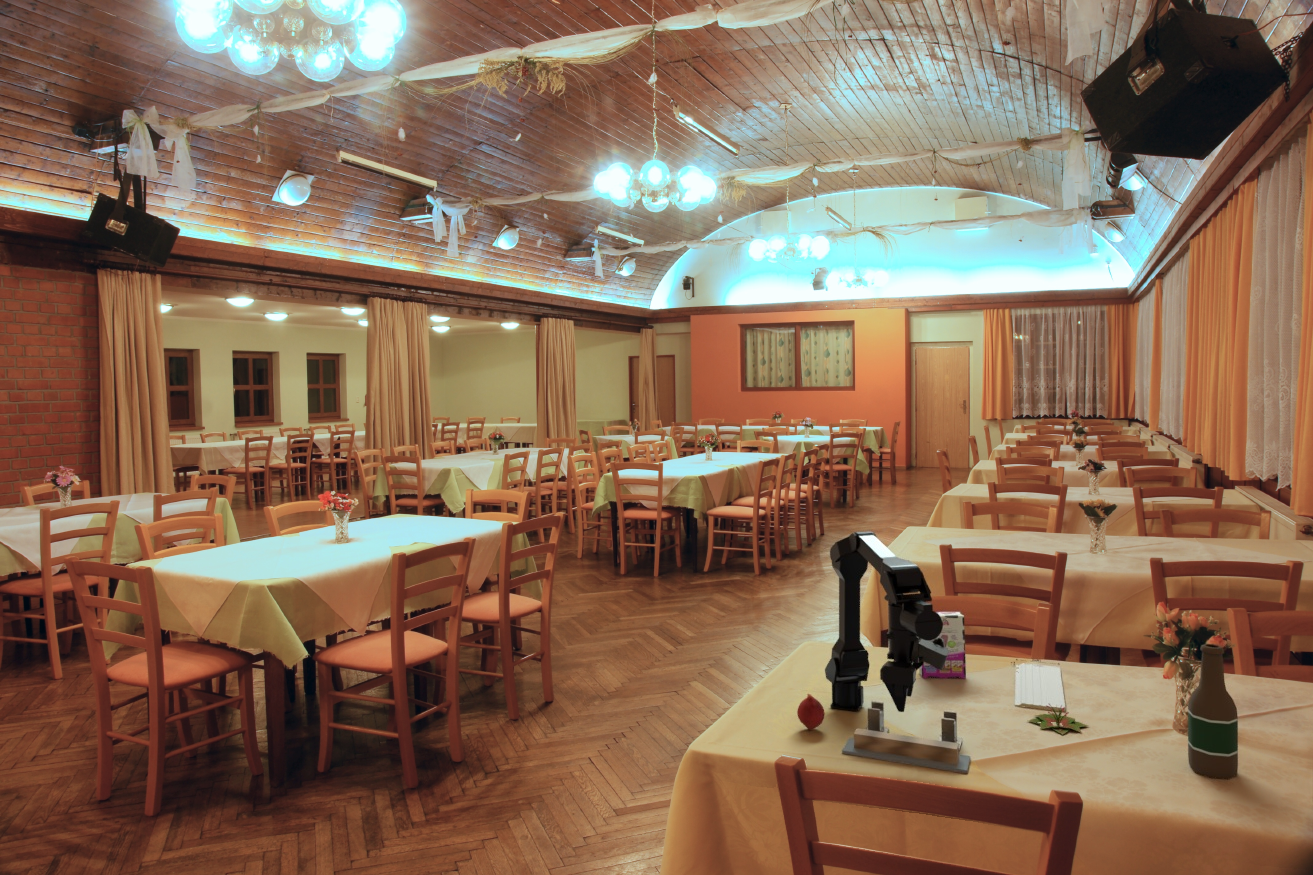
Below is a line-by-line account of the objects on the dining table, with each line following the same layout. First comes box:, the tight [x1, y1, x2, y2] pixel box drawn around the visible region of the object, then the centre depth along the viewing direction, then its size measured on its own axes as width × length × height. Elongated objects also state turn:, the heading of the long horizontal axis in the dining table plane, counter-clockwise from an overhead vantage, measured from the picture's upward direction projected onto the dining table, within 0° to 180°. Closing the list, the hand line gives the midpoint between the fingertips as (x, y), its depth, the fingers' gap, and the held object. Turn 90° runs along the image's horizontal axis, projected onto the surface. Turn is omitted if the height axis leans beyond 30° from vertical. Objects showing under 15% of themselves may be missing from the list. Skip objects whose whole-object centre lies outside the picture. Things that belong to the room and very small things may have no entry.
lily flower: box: [1028, 703, 1088, 735], centre depth 176 cm, size 12×12×5 cm
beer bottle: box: [1187, 643, 1239, 781], centre depth 152 cm, size 8×8×24 cm
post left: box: [865, 700, 890, 733], centre depth 174 cm, size 4×6×6 cm
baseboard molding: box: [1010, 658, 1066, 713], centre depth 200 cm, size 31×3×12 cm
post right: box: [938, 710, 963, 752], centre depth 167 cm, size 4×6×6 cm
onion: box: [796, 693, 825, 731], centre depth 177 cm, size 6×6×8 cm
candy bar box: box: [918, 611, 967, 679], centre depth 209 cm, size 11×5×16 cm, turn 82°
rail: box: [853, 728, 960, 764], centre depth 162 cm, size 20×3×3 cm, turn 64°
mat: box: [841, 737, 971, 774], centre depth 162 cm, size 24×7×1 cm, turn 64°
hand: (904, 703), depth 162 cm, fingers open, 9 cm apart
